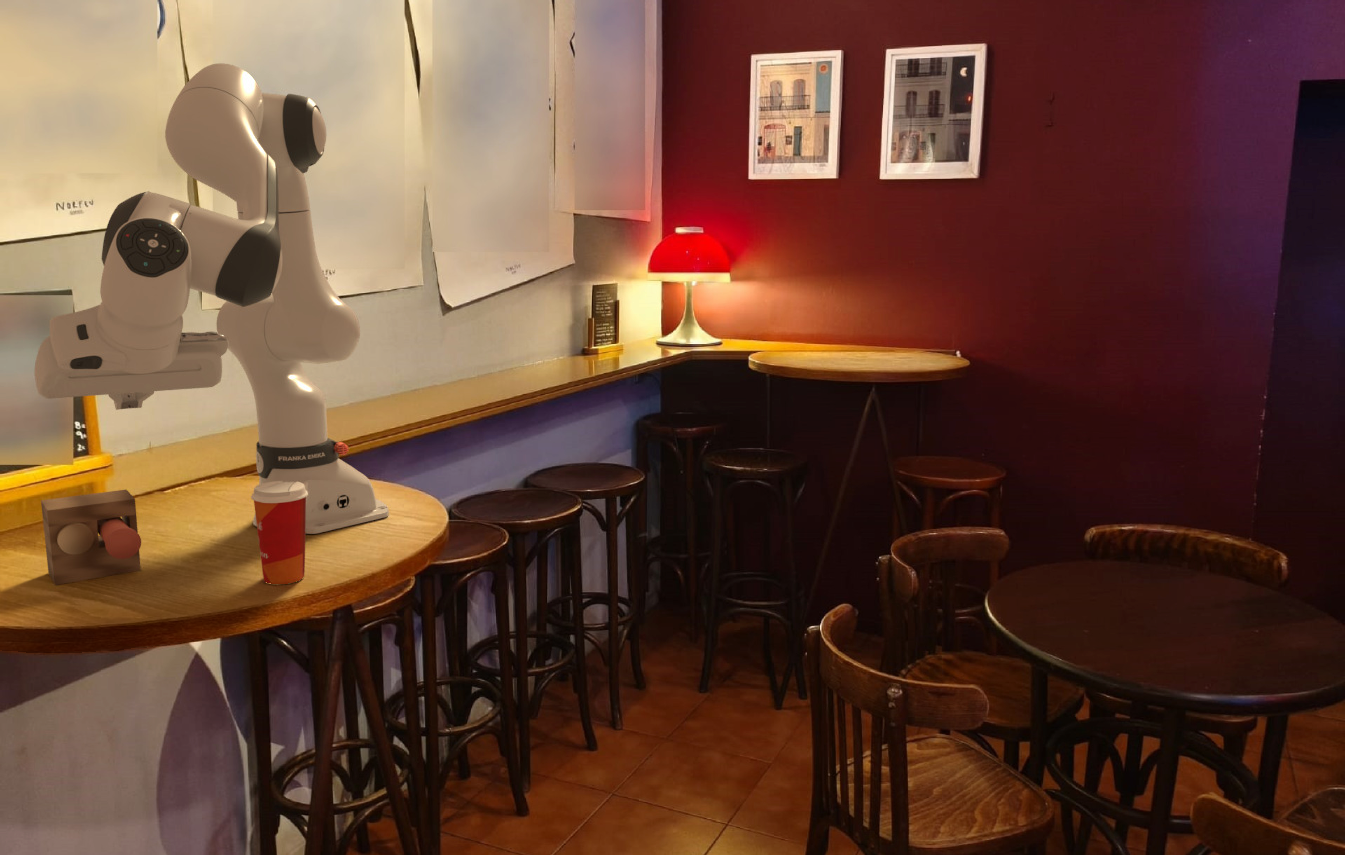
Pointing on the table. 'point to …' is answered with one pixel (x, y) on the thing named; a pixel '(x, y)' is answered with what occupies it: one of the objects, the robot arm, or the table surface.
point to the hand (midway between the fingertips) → (127, 404)
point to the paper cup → (281, 530)
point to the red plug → (118, 538)
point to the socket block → (85, 535)
